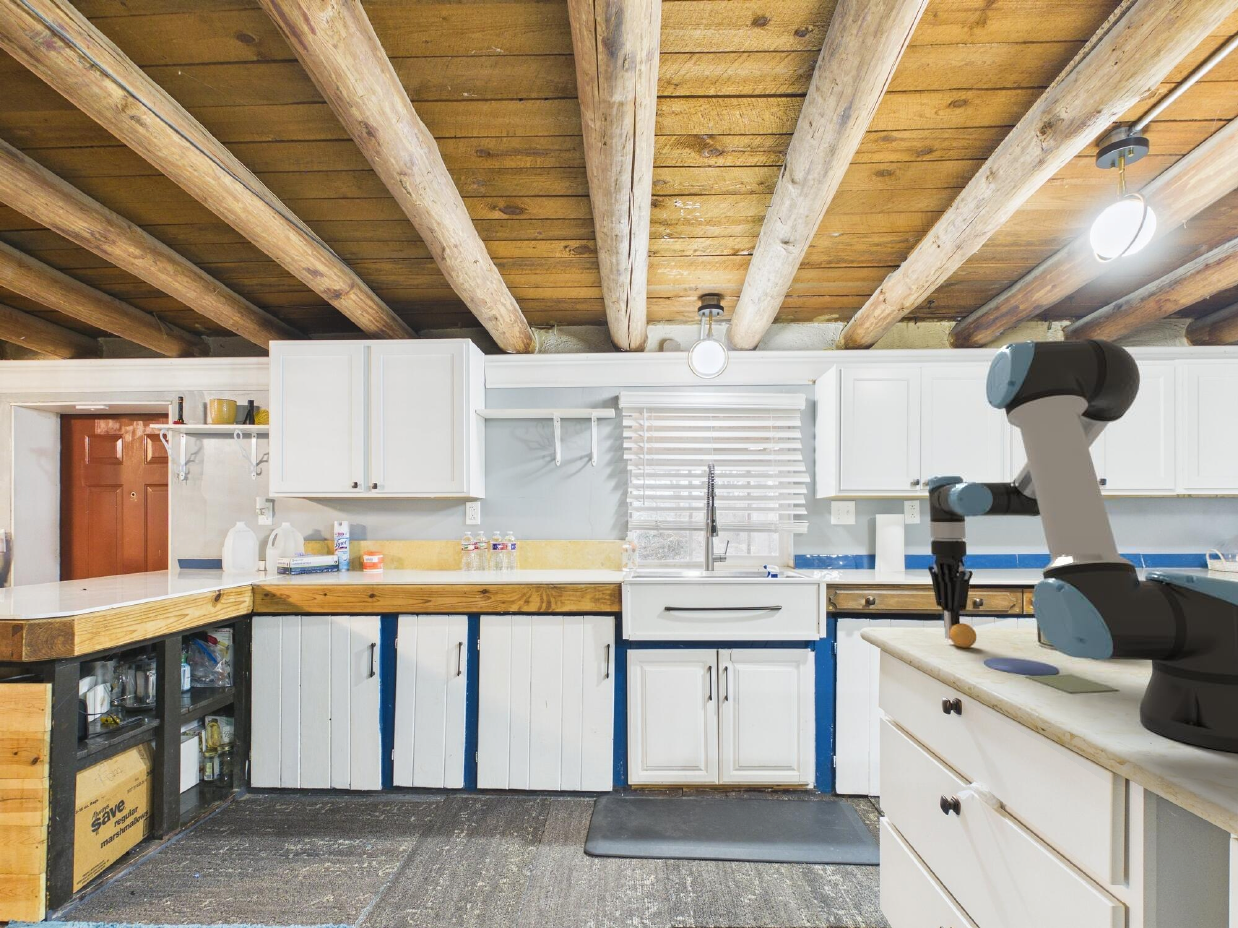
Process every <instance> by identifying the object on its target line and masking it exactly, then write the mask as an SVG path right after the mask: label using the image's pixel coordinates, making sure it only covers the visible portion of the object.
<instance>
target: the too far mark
mask: <svg viewBox="0 0 1238 928" xmlns="http://www.w3.org/2000/svg"><path fill="white" fill-rule="evenodd" d="M1024 676H1025V678H1026V679H1028V680H1031V681H1034V682H1037V683H1040V684H1043V685H1045V686H1048V687H1051V688H1054V689H1056V690H1060V691H1062V692H1065V693H1067V694H1082V693H1083V694H1087V693H1103V692H1120V691H1121V690H1120V688H1115V687H1112V686H1110V685H1107V684H1102V683H1099V682H1096V681H1095V680H1090V679H1087V678H1085V677H1081V676H1079V675H1075V674H1072V673H1069V674H1055V675H1044V676H1034V675H1024Z"/></svg>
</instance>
